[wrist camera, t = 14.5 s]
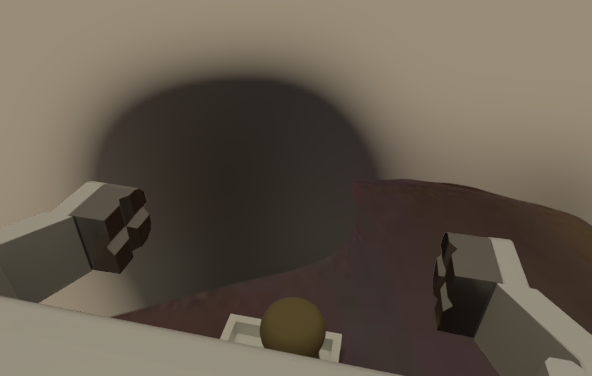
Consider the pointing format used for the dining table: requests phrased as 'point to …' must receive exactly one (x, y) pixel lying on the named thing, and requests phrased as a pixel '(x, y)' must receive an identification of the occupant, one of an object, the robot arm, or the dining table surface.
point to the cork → (293, 327)
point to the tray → (249, 334)
